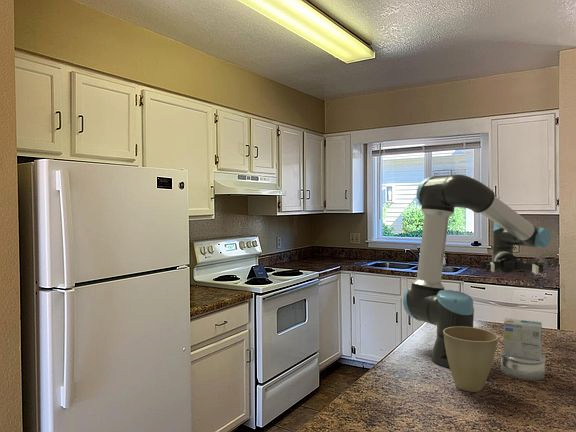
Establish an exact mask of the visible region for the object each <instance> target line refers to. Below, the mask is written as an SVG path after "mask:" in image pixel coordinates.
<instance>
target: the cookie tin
mask: <svg viewBox="0 0 576 432" xmlns="http://www.w3.org/2000/svg"><path fill="white" fill-rule="evenodd" d="M499 355H500V372H501V373H503V374H504V375H506V376H507V377H509V378H513V379H517V378H518V379H517V380H522V381H540V380H543V379H544V378H545V373H546V367H545V366H546V362H547V358H546V356H545V355H543V354H542V355H541V360H534V359H527V358H521V357H514V356H508V355H504V348H503V349H501V350H500V351H499Z"/></svg>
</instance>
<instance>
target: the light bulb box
mask: <svg viewBox="0 0 576 432" xmlns="http://www.w3.org/2000/svg"><path fill="white" fill-rule="evenodd" d="M542 330H543V327H542V321H535V320H527V319H516V318H508V317H505V319H504V321H503V349H504V355H508V356H514V357H521V358H527V359H534V360H541V355H543V353H542V351H543V343H542V342H543V336H542V335H543V331H542Z"/></svg>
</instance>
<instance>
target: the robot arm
mask: <svg viewBox="0 0 576 432" xmlns="http://www.w3.org/2000/svg"><path fill="white" fill-rule="evenodd" d="M416 200H418V201H417V202H418V205H420V206H421V207H420V210H421V212H422V213H423V214H424V218H423V224H422V225H423V227H422V233H421V240H420V241H421V243H420V249H419V250H420V251H419V257H418V264H417V265H418V266H417V273H416V279H414V280H413V281H412V282H411V286H410V287H408V288H407V289H406V291H405V292H404V294H403V298H402V305H403V308H404V309H403V310H404V311H405V312H406V314H407V315H408V316H410V317H411V318H413V319H415V320H417V321H421V322H424V323H428V324H429V325H434V326H436V339H435V341H434V344H433V347H432V350H431V361H432V362H433V363H435V364H436V365H438V366H442V367H444V368H445V367H446V368H449V369H450V366H449V363H448V358H447V354H446V348H445V342H444V334H443V330H444V329H446V328H449V327H473V328H474V318H475V317H474V316H475V315H474V313H475V308H474V301H473V300H474V299H473V298H472V297H471V296H470V295H469V294H468V293H465V292H461V291H459V290H451V289H445V286H444V284H442V275H443V266H444V258H445V253H446V252H445V251H446V242H447V235H448V226H449V218H450V217H451V216H452V215H454V214H455V213H454V212H455V208H463V209H468V210H471V211H472V212H473V213H476V214H481V215H483V216H484V217H486V218H488V220H490V221H492V222H493V230H492V232H493V235H492V236H493V237H492V238H493V239H492V241H493V242H492V246H493V247H492V255H491V258H489V259H488V260H481V261H480V269H481V270H483V269H486V270H485V271H486V272H490V271H491V273H495V269H497V270H499V271H500V272H502V273H505V274H510V273H514V272H515V271H516V270H517V271H522V270H524V271H530V272H532V273H533V274H535V275H537V276H538V275H539V273H542V272H544V264H541V263H539V262H530V261H529V260H525V261H524V262H523V261H522V260H519V259H518V258H517V257H516V255H514V246H520V247H528V248H535V249H538V248H541V249H542V248H544V249H545V248H547V247H548V246H549V245H550V243H551V240H552V234H551V232H550V230H549V229H548V228H545V227H537V226H536V225H534V224H533V223H532V222H530V221H528V220H527V219H526V218H524V217H523V216H522V215H520V214H519V213H518V212H517V211H515V210H514V209H512V208H511V207H510V206H508V205H507V204H506V203H505V202H503V201H502V200H500V198H498V197H497V196H496V194H495V192H494V191H493V189H491V188H489V187H488V186H487V185H486V184H485V183H482V182H480V181H479V180H477V179H475V178H473V177H471V176H468V175H464V174H447V175H446V174H445V175H444V174H442V175H433V176H427V177H426V178H424V179H423V180H422V181H420V183H419V184H418V186H417V189H416Z"/></svg>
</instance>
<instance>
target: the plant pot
mask: <svg viewBox="0 0 576 432" xmlns="http://www.w3.org/2000/svg"><path fill="white" fill-rule="evenodd" d="M443 334H444V342H445V348H446V354H447V358H448V363H449V366H450V368H449V369H450V373H451V376H452V379H453V382H454V384H455V387H456V388H458V389H459V390H462V391H465V392H472V393H474V392H475V393H477V392H480V391H482V390H483V388H484V387H485V383H486V381H487V379H488V376H489V374H490V371H491V369H492V365H493V363H494V359H495V356H496V350H497V344H498V340H499V336H498V335H497V334H496V333H494V332H492V331H490V330H486V329H483V328H480V327H479V328H478V327H474V326H473V327H449V328H446V329H444V330H443Z"/></svg>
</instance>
